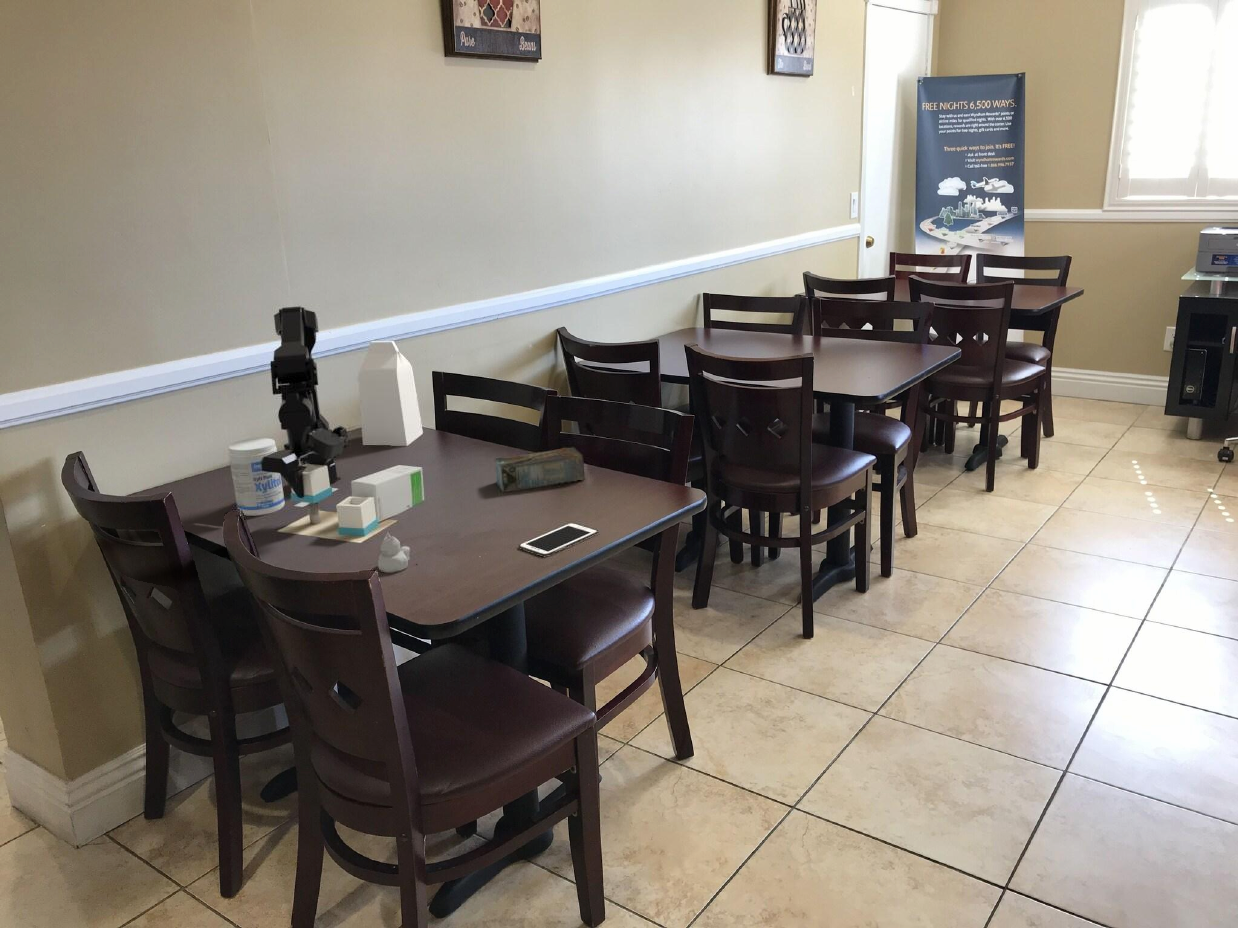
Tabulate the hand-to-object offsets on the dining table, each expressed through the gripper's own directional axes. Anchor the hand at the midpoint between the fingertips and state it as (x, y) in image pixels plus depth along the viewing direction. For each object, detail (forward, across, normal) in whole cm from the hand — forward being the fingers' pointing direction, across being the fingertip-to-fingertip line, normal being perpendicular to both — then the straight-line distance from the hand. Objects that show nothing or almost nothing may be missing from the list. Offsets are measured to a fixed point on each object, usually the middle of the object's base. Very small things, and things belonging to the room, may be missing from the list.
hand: (311, 492), depth 190 cm
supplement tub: (+8, +5, +18) cm, 21 cm away
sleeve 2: (+6, -1, -11) cm, 13 cm away
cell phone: (+8, +8, -50) cm, 52 cm away
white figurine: (+8, -13, -29) cm, 32 cm away
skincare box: (+3, +19, -11) cm, 22 cm away
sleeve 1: (+1, 0, 0) cm, 1 cm away
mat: (+7, +14, +6) cm, 17 cm away
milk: (+8, +58, +22) cm, 63 cm away
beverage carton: (+8, +38, -31) cm, 50 cm away
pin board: (+7, 0, -6) cm, 9 cm away
